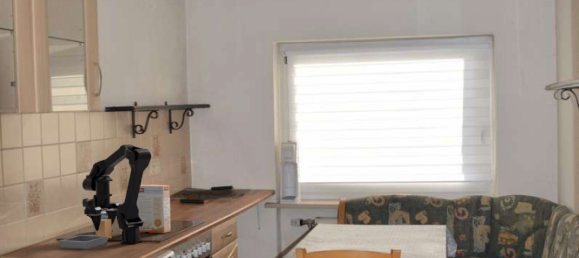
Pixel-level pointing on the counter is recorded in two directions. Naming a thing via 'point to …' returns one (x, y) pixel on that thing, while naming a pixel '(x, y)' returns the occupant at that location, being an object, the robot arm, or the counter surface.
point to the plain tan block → (105, 228)
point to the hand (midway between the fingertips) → (103, 228)
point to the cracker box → (154, 208)
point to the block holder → (83, 242)
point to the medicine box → (105, 216)
